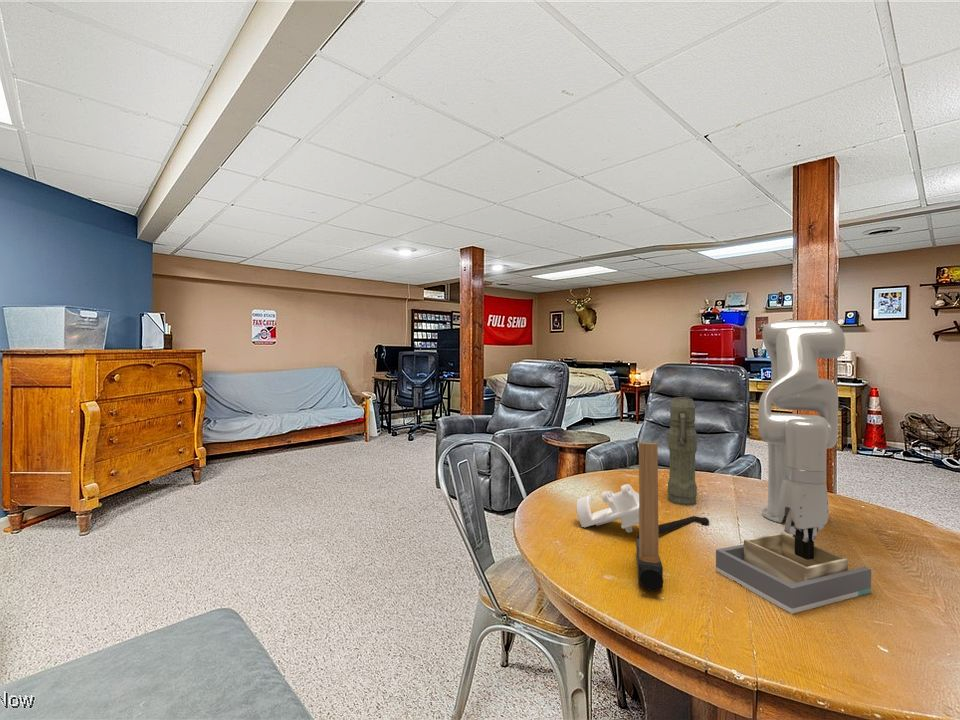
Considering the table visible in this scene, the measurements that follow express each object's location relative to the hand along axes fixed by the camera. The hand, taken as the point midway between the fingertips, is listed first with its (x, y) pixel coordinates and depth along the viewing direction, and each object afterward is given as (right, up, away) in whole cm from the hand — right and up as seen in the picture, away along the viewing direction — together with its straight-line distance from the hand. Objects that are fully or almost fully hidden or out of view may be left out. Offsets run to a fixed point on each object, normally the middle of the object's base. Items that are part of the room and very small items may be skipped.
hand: (804, 556), depth 101 cm
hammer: (-34, -5, +2) cm, 34 cm away
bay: (-4, -5, -1) cm, 7 cm away
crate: (-3, -4, -1) cm, 5 cm away
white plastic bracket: (-34, -5, +28) cm, 45 cm away
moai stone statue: (-4, -4, +51) cm, 52 cm away
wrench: (-19, -5, +24) cm, 31 cm away
